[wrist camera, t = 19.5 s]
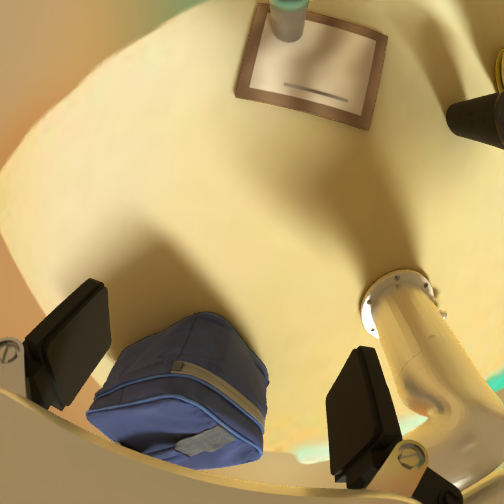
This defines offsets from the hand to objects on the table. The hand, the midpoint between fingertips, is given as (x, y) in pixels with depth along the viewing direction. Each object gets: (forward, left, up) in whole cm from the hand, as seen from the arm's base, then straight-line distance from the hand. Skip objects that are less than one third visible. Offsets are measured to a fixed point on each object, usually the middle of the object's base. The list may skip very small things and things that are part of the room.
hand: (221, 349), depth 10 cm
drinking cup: (-24, -18, -31) cm, 43 cm away
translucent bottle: (+2, -21, -29) cm, 36 cm away
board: (-2, -18, -30) cm, 35 cm away
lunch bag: (+7, +35, -31) cm, 47 cm away
